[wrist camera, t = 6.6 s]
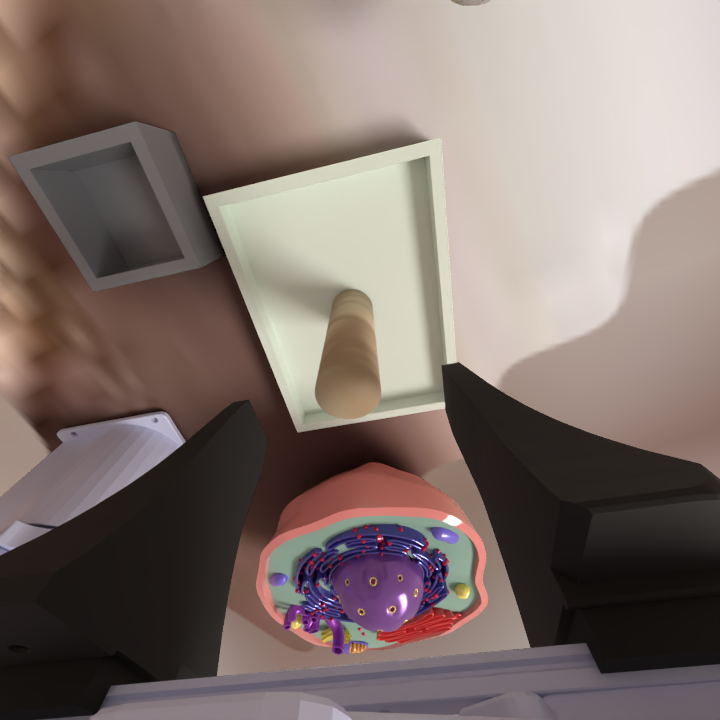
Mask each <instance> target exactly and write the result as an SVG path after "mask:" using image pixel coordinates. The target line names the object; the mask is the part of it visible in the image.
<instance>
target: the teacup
mask: <svg viewBox="0 0 720 720" xmlns="http://www.w3.org/2000/svg"><path fill="white" fill-rule="evenodd" d="M452 1H453V2H454V3H457V4H460V5H462V6H466V5H481V4H484V3H487V2H489V1H490V0H452Z"/></svg>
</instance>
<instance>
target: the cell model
mask: <svg viewBox="0 0 720 720" xmlns="http://www.w3.org/2000/svg"><path fill="white" fill-rule="evenodd" d="M485 563H486V551H485V548H484V545H483V542H482V540H481V539H480V537H479V535H478V534H477V532H476V531H475V529H474V528H473V526H472V525H471V523H470V522H469V520H468V519H467V517H466V516H465V513H464V512H463V510H462V509H461V508H460V507H459V506H458V505H457V504H456V502H454V501H453V500H452V499H451V498H450V497H449V496H448V495H446V494H445V493H443V492H442V491H441V490H439V489H437V488H436V487H434V486H433V485H431V484H430V483H428V482H427V481H425V480H424V479H422V478H420V477H418V476H416V475H414V474H412V473H408V472H405V471H402V470H399V469H396V468H393V467H390V466H388V465H385V464H382V463H378V462H369V463H366V464H364V465H361V466H359V467H357V468H355V469H352V470H349V471H346V472H343V473H340V474H337V475H334V476H332V477H330V478H328V479H325V480H324V481H322V482H320V483H318V484H317V485H315V486H313V487H311V488H310V489H308V490H306V491H304V492H303V493H301V494H300V495H299V496H297V497H296V498H294V499H293V500H292V501H291V502H289V503H288V505H287V506H286V507H285V508H284V509H283V511H282V513H281V515H280V518H279V521H278V525H277V529H276V532H275V533H274V535H273V537H272V539H271V540H270V541H269V543H268V544H267V545H266V547H265V548H264V550H263V552H262V553H261V556H260V563H259V570H258V576H257V581H256V587H257V593H258V595H259V597H260V599H261V601H262V603H263V605H264V607H265V608H266V610H267V611H268V613H269V614H270V615H271V616H272V617H273V618H274V619H275V620H276V621H277V622H278V623H280V624H282V625H283V629H284V630H288V629H289V630H291V631H292V632H294V633H295V634H297V635H298V636H300V637H301V638H303V639H305V640H306V641H308V642H311V643H313V644H316V645H321V646H326V647H332V652H333V653H335V654H338V655H339V654H342V653H346V654H348V653H349V652H350V653H352V654H353V653H355V652H356V653H360V652H362V651H363V650H384V649H391V648H396V647H399V646H402V645H405V644H408V643H412V642H416V641H421V640H426V639H431V638H435V637H439V636H442V635H445V634H448V633H450V632H452V631H454V630H455V629H457V628H458V627H460V626H461V625H463V624H465V623H466V622H468V621H469V620H471V619H473V618H474V617H476V616H477V615H478V614H479V613H481V612H482V610H483V609H484V608H485V607H486V605H487V603H488V596H487V592H486V589H485V587H484V584H483V572H484V568H485Z"/></svg>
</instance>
